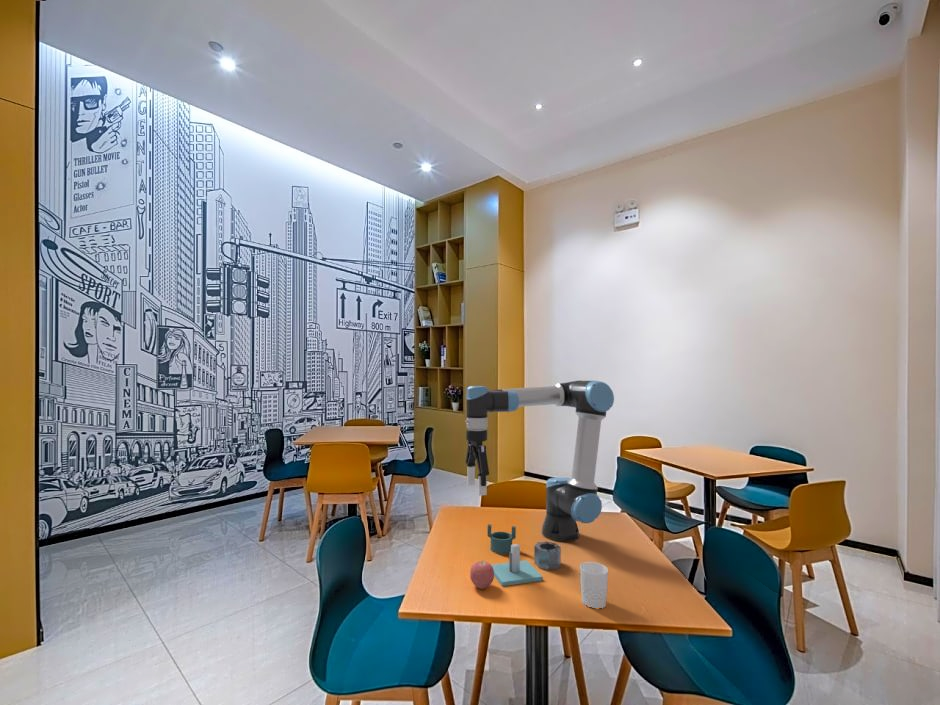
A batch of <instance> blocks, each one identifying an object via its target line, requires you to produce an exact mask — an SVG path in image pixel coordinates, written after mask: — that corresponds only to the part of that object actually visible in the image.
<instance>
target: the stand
mask: <svg viewBox="0 0 940 705" xmlns="http://www.w3.org/2000/svg"><path fill="white" fill-rule="evenodd" d="M508 554H509V556H508V557H509V560H508V561H509V562H503V563H502V562H501V563H496V564H495V563H494V564H491V566H492V567H493V569H494V578H495V579H496V580H497V581H498V582H499V584H500V585H501V586H502V587H507V586H512V585H520V584H526V583H534V582H540V581H543V579H544V578H543V575H542V574H541V573H540V572H539V571H538V570H537V569H536V568H535V567H534V566H533V565H532V564H531V563H530V562H529V561H528V560H521V545H520V544H517V543H512V545H511V552H509V553H508Z"/></svg>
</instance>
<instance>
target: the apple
mask: <svg viewBox="0 0 940 705" xmlns="http://www.w3.org/2000/svg"><path fill="white" fill-rule="evenodd" d="M491 565H492V564H491V563H489V562H488V561H485V560H479V561H476V562H474V563H473V565H471V568H470V572H469V573H470V575H469V576H470V580H471V582H472V584H473V585H474V586H475V587H476V588H478V589H487V588H488V587H490V586H491V584H492V583H493V581H494V579H495V576H494V569H493V567H492V566H491Z"/></svg>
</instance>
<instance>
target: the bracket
mask: <svg viewBox="0 0 940 705" xmlns="http://www.w3.org/2000/svg"><path fill="white" fill-rule="evenodd" d="M516 529H517V526H514V525H512V526H511V533H510V532H506V531H493V532H492V524H487V537H488V538H490V551H491V552H492V553H494V554H496V555H497V554H498V555H508V554H509V552H511V545H512V544H513V541H514V540H515V539H516V538H517V537H516V535H517V534H516V533H517V530H516Z"/></svg>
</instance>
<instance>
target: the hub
mask: <svg viewBox="0 0 940 705" xmlns="http://www.w3.org/2000/svg"><path fill="white" fill-rule="evenodd" d="M533 549H534V551H533V552H534V554H533V555H534V563H533V564H535V566H536V567H538V569H542V570H547V571H552V570H559V568H560V567H561V565H562V564H561V563H562V562H561V560H562V559H561V558H562V556H561V555H562V553H561V552H562V547H561V546H560V545H558V544H557V543H555V542H551V541H540V542H539V541H538V542H537V543H536V544H535V545H534V548H533Z"/></svg>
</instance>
